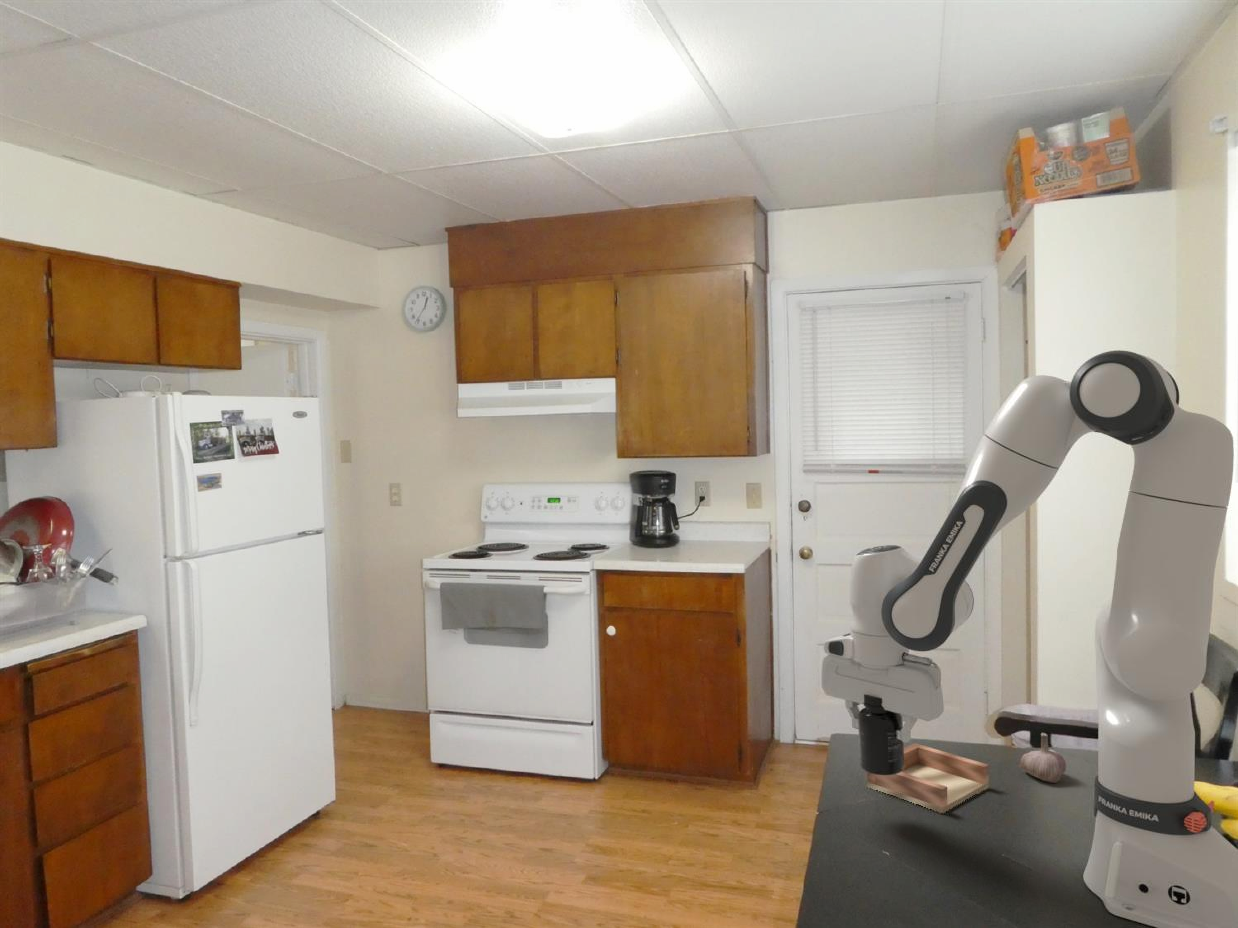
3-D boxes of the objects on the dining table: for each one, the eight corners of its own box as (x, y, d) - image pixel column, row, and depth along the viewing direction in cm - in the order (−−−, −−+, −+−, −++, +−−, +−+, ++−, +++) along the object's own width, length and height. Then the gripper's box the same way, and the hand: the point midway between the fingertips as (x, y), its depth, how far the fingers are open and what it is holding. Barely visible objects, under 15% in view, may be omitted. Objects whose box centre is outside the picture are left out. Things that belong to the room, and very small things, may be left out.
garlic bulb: (1063, 789, 152) (1063, 743, 152) (1016, 780, 156) (1017, 735, 156) (1068, 773, 159) (1068, 729, 158) (1023, 765, 163) (1023, 722, 162)
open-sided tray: (988, 787, 153) (988, 764, 153) (942, 814, 143) (942, 789, 143) (915, 764, 164) (914, 743, 164) (867, 787, 154) (867, 764, 154)
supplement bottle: (899, 759, 145) (897, 686, 144) (908, 776, 138) (907, 700, 137) (856, 759, 146) (854, 687, 145) (863, 776, 139) (861, 700, 138)
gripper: (951, 656, 135) (952, 746, 136) (838, 634, 151) (839, 715, 151) (928, 664, 131) (929, 757, 132) (815, 640, 147) (816, 724, 147)
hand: (880, 734), depth 142 cm, fingers closed on supplement bottle, 7 cm apart
